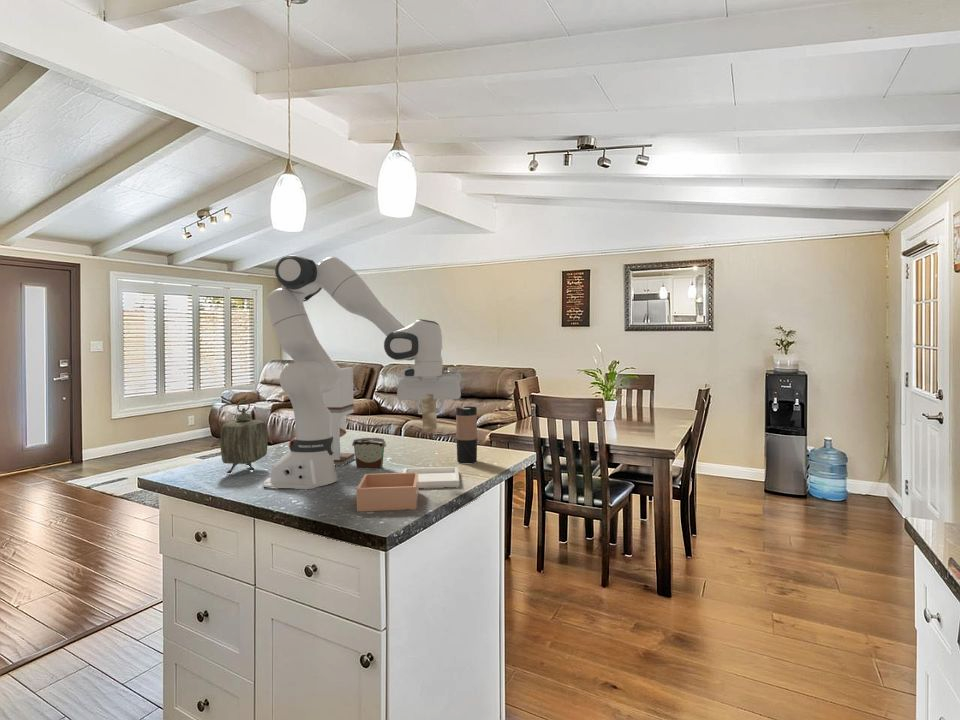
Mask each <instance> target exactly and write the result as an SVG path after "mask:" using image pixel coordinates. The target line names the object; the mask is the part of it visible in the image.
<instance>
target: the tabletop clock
mask: <svg viewBox="0 0 960 720" xmlns="http://www.w3.org/2000/svg"><path fill="white" fill-rule="evenodd" d="M242 403H247V405H248V407H247V408H245V407H243V408H242V409H240V405H241V404H242ZM236 407H237V408H236V409H237V411H238V412H239V414H237V416H236V418H235V419H233V420H231V421H228V422H226V423H224V424H223V425H222V426H221V428H220V429H221V430H220V445H219V446H220V457H221V460H222V463H223V464H227V465H229V464H232V466H231V468H230V470H227V472H226V474H227V473H231V472H232V473H233V470H234V469H235V467H236V466H237V465H245V466H246V465H249V466H250V467H249V469H248V471H249V470H254V471H255V468H254V467H252V466H253V465H252V463H255V462H257V461H258V460H260V459H262V458H264V457H265V456H266V455H267V453H268V428H267V427H268V426H267V423H265V422H264V420H261V419H253V417H252V415H251V414H250V413H248V410H250V407H251V405H250V401H249V400H248V399H241V400H240V401H239V402H238V403H237V406H236Z"/></svg>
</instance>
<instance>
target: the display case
mask: <svg viewBox="0 0 960 720" xmlns="http://www.w3.org/2000/svg"><path fill="white" fill-rule="evenodd" d="M340 369H341V372H342V378H341V381H340V383H339V385H338V386H336V387H335V388H334V389H332V390H330V391H328V392H324V393H323V398H324V402H325V405H326V407H327V408H328V409H329V410H330V412H331V427H332V436H333V441H334V452H333V460H334V464H335V465H334V466H336V465H343V464H344V465H346V464H347V463H346V462H348V461H350V460H351V461H353V460H355V459H354V458H355V452H354V453H353V452H352V453H351V452H341V438H342V437H343V436H345V435H346V434H347V416H348V415H350V414H354V413H355V411H354V407H355V405H354V403H355V402H354V367H353V366H352V367H350V366H349V367H344V368H341V367H340ZM352 459H353V460H352ZM351 461H350V462H351ZM345 463H346V464H345ZM348 463H349V462H348ZM344 465H343V466H344Z"/></svg>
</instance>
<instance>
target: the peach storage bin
mask: <svg viewBox="0 0 960 720" xmlns="http://www.w3.org/2000/svg"><path fill="white" fill-rule="evenodd" d="M419 493H420V492H419V480H418V473H403V472H390V473H389V472H385V473H365V474H364V475H363V477H362V478H361V481H360V482H359V484H358V485H357V487H356V512H373V511H375V512H377V511H378V512H379V511H380V510H381V511H404V510H405V509H410V510H417V507H418V501H419ZM405 511H406V510H405Z"/></svg>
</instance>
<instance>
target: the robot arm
mask: <svg viewBox="0 0 960 720" xmlns="http://www.w3.org/2000/svg"><path fill="white" fill-rule="evenodd" d="M274 271H275V277H276V279H277V281H278V282H279V284H280V285H281V286H280V287H279V288H276V289H274V290H273V291H271V292H270V293H269V294H268V295H267V299H266V303H267V304H266V305H267V310H268V314H269V317H270V321H271V324H272V326H273V329H274V332H275V335H276V337H277V340H278V343H279V345H280V348H281V349H282V350H283V352H284V353H286V354H287V355H288V356H289V357H290V358H291V359H292V361H294V362H293V363H290V364H288V365H286V366H285V367H284V368H283V369H282V370H281V372H280V375H279V385H280V387H281V389H282V390H283V392H284V393H285V394H286V395H287V396H288V398H289V400H290V402H291V406H292V410H293V414H294V426H295V427H294V428H295V429H294V430H295V437H294V436H293V438H291V439H290V441H289V443H288V447H289V451H288V452H286V453H285V454H284V455H283V456H281V457H280V458H279V459H278V460H277V461H276V462H275V463H274V464H273V465H272V468H271V471H270V477H268V478H266V479H265V480H264V481H263V482H262V483H263V484H262V486H264V487H275V488H274V489H278V488H295V489H294V490H312V489H314V488H317V487H322V486H327V485H329V484H333V483H336V482H337V481H338V479H339V478H338V475H337V471H336V467H335V466H336V465H334V460H333V452H334V441H333V436H332V427H331V412H330V410H329V409H328V408H327V407H326V405H325V402H324V398H323V393H324V392H328V391H330V390H332V389H334V388H335V387H336V386H338V385H339V383H340V381H341V378H342V372H341V369H340V368H341V367H340V366H339V365H338V364H337V362H334V361H333V360H332V359H331V357H330V356H329V355H328V352H327V351H326V350H325V349H324V347H323V346H322V344H321V343H320V341H319V339H318V337H317V336H316V333H315V331H314V328H313V326H312V324H311V321H310V319H309V316H308V314H307V311H306V309H305V305H304V302H307V301H310V299H312V297H314V296H316V295H317V294H319V293H320V292H321V290H322V289H323V290H324V291H325V292H326V293H327V294H328V295H329V296H330V297H331V298H332V299H333V301H335V302H336V303H337V304H338V305H339V306H340V307H342V308H343V309H345V310H346V311H347V312H348V313H350V314H354V315H355V316H359V317H362V318H363V319H366V320H368V321H369V322H372V324H373V325H375V326H376V328H377V329H379V330H380V331H381V332H382V333H383V334H384V335H385V339H384V342H383V348H384V351H385V353H386V355H387V356H388V357H389V358H390V359H392V360H395V361H414V365H413V366H408V367H406V368H404V369H401V371H400V377H401V378H399V380H398V382H397V383H398V384H397V389H396V390H397V391H396V392H397V393H396V398H397V399H398V401H414V402H413V403H414V404H413V405H415V407H416V408H417V414H418V415H423V409H422V407H420V405H419V403H420V401H422V400H424V399H425V394H433V398H434V400H436V401H438V400H439V403H440V404H439V406H438V407H436V415H437V414H438V415H440V414H442V408H443V406H444V404H445V400H459V399H460V398H461V396H462V393H461V385H460V384H462V383H461V382H462V373H461V372H460V371H457V369H452V370H451V369H450V370H449V369H443V357H442V349H443V337H442V336H443V335H442V334H443V333H442V329H441V325H439V322H436V321H435V320H428V319H422V318H420V319H418V318H417V319H416V320H415V321H414V322H412V323H411V324H409V325H407V326H404V325H403V324H401V322H400V321H399V320H397V319H396V317H395V316H394V315H393V314H392V313H390V311H388V309H387V308H386V307H385V306H383V304H382V303H381V302H380V301H379V299H378V297H376V295H375V294H374V293H373V291H372V290H371V288H370V287H369V286H368V285H367V283H366V282H365V281H364V279H363V278H361V276H360V275H359V274H358V273H357V272H356V271H355V270H354V269H353V268H352V267H351V266H349V265H348V264H347V263H345V262H344V261H343V260H342V259H340V258H338V257H337V256H336V257H335V256H328V257H326V258H324V259H322V260H321V261H320V262H319V263H316V262H315V261H314V260H313V259H309V258H306V257H303V256H299V255H295V254H294V255H292V254H290V255H285V256H283V257H281V258H280V259H279V260H278V261H277V263H276V266H275V269H274ZM264 487H263V488H264Z"/></svg>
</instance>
